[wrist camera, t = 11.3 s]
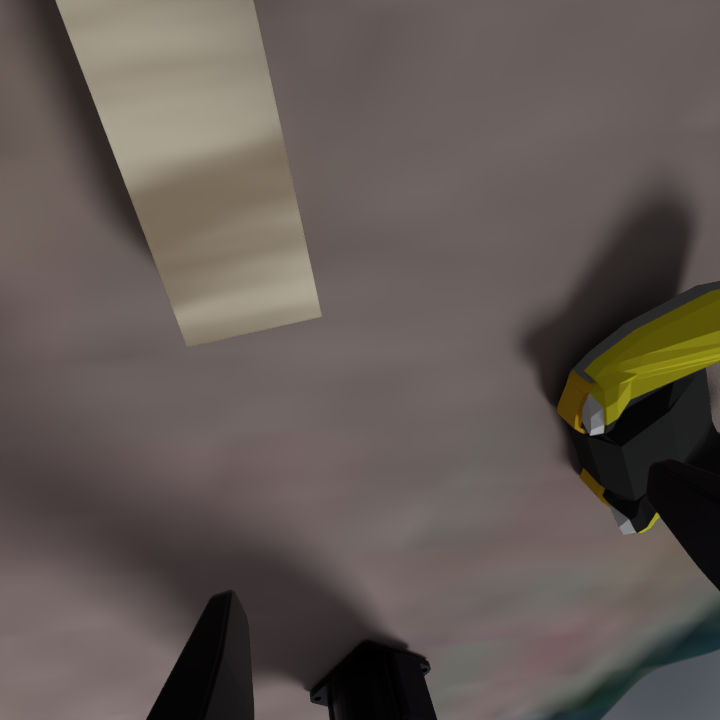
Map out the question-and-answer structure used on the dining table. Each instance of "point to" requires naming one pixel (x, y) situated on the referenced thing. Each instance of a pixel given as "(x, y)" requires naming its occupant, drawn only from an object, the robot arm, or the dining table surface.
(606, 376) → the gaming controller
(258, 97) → the birch block
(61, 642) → the dining table surface
